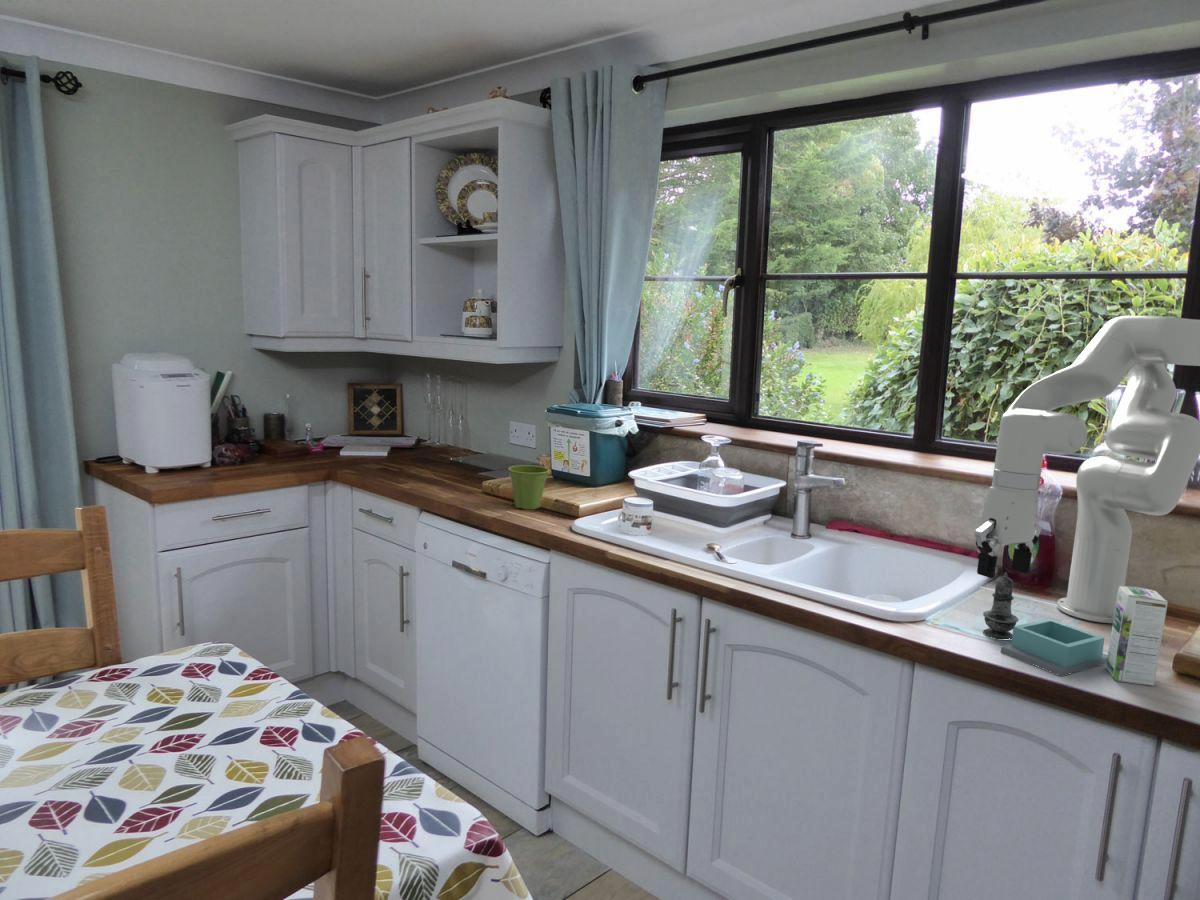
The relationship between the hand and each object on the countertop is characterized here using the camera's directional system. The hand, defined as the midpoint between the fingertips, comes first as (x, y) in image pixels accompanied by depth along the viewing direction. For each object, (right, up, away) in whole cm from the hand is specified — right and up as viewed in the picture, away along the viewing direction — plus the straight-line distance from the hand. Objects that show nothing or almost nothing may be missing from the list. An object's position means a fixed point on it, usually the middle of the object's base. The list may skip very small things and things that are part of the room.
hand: (1003, 573), depth 152 cm
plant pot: (-94, +6, +89) cm, 130 cm away
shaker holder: (+6, -13, -7) cm, 16 cm away
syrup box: (+14, -15, -15) cm, 25 cm away
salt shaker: (0, -12, +2) cm, 12 cm away
